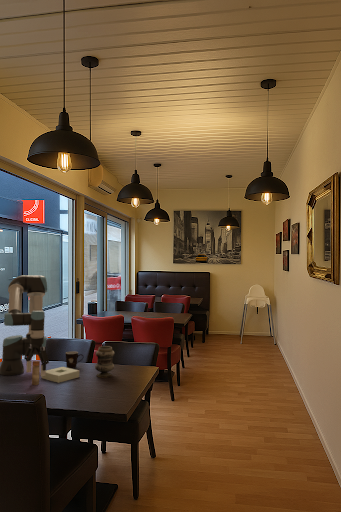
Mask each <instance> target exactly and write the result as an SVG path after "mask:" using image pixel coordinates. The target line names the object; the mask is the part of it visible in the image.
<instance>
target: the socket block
mask: <svg viewBox="0 0 341 512" xmlns="http://www.w3.org/2000/svg"><path fill="white" fill-rule="evenodd" d="M79 377H80V369H79V370H78V369H75V368H67V366H60V367H55V368H52V369H51V368H50V369H46V374H45V376H42V377H41V379H43V380H47V381H51V382H54V383H58V384H59V383H62V382H66V381H70V380H74V379H76V378H79Z"/></svg>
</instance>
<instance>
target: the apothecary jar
mask: <svg viewBox="0 0 341 512" xmlns="http://www.w3.org/2000/svg"><path fill="white" fill-rule="evenodd" d="M95 356H96V358H97V361H96V364H95V365H94V368H95V370H96V371H97V372H99V373H97V374H96V377H97V378H101V379H102V378H103V379H107V378H110V377H112V376H113V374H112V373H110V372H112V371H113V370H114V369H115V365H114V363H113V357H114V356H115V351H114V350H113V347H112V346H110V345H104V346H103V345H102V346H98V350H97V351H96V352H95Z"/></svg>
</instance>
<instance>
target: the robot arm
mask: <svg viewBox="0 0 341 512" xmlns="http://www.w3.org/2000/svg"><path fill="white" fill-rule="evenodd" d="M7 291H8V293H9V296H8V297H9V298H8V310H7V311H8V312H5V314H4V316H3V317H4V319H3V325H4V326H6V327H8V326H9V327H16V326H17V327H19V326H20V327H21V326H28V332H27V333H26V334H25V337H24V336H23V335H21V334H20V335H19V334H18V335H17V334H16V335H11V336H7V337H4V339H3V340H2V341H3V342H2V354H1V357H2V360H1V364H0V375H1V376H15V375H21V374H23V373H24V372H25V370H26V374H27V373H31V372H32V364H33V361H32V359H33V357H34V356H38V358H39V361H40V378H42V376H45V374H46V370H47V365H48V364H50V361H49V357H48V353H47V347H46V346H47V345H46V344H47V336H45V319H46V316H45V314H46V313H45V311H44V310H43V309H44V308H43V306H44V305H43V304H44V303H43V299H44V296H45V295H46V293H47V292H48V281H47V277H46V276H45V275H29V274H28V275H24V274H23V275H19V276H17V277H14V278H13V279H12V280H11V281H10V283H9V285H8V288H7ZM24 293H27V294H26V296H27V297H29V303H28V304H29V305H28V310H29V311H28V312H22V309H23V308H22V305H23V304H22V302H23V300H22V299H23V294H24ZM23 356H24V357H23ZM23 358H24V360H25V361H26V366H25V367H26V369H25V367H24V364H23V361H22V360H23Z"/></svg>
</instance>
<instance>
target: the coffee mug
mask: <svg viewBox="0 0 341 512" xmlns="http://www.w3.org/2000/svg"><path fill="white" fill-rule="evenodd" d="M80 356H82V358H81V359H80V360H78V358H79V357H80ZM84 357H85V356H84V355H83V354H81V353H80V354H79V352H78V351H67V352H65V362H66V363H65V365H66V368H71V369H75V367H76V368H77V364H78V363H80V362H81V361H83V359H84Z"/></svg>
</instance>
